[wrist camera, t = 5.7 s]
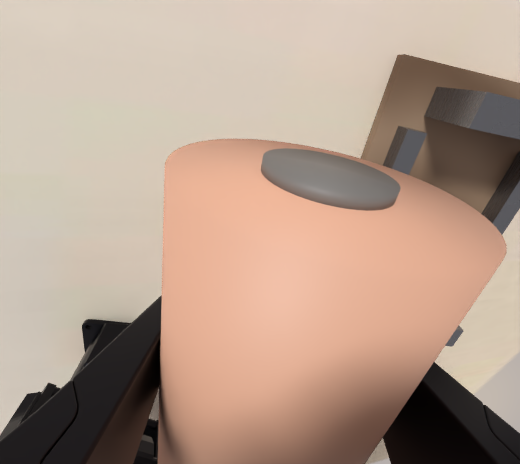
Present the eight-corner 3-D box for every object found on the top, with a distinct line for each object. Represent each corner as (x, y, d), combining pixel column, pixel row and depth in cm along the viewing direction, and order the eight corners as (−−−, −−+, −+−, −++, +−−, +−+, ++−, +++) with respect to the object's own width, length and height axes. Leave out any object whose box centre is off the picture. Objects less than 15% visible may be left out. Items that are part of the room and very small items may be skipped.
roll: (310, 380, 14) (353, 575, 8) (176, 372, 13) (131, 582, 8) (401, 153, 9) (642, 285, 3) (192, 116, 8) (99, 218, 3)
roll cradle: (438, 313, 27) (474, 359, 23) (310, 298, 25) (324, 344, 21) (575, 99, 18) (673, 108, 14) (397, 54, 17) (449, 51, 13)
